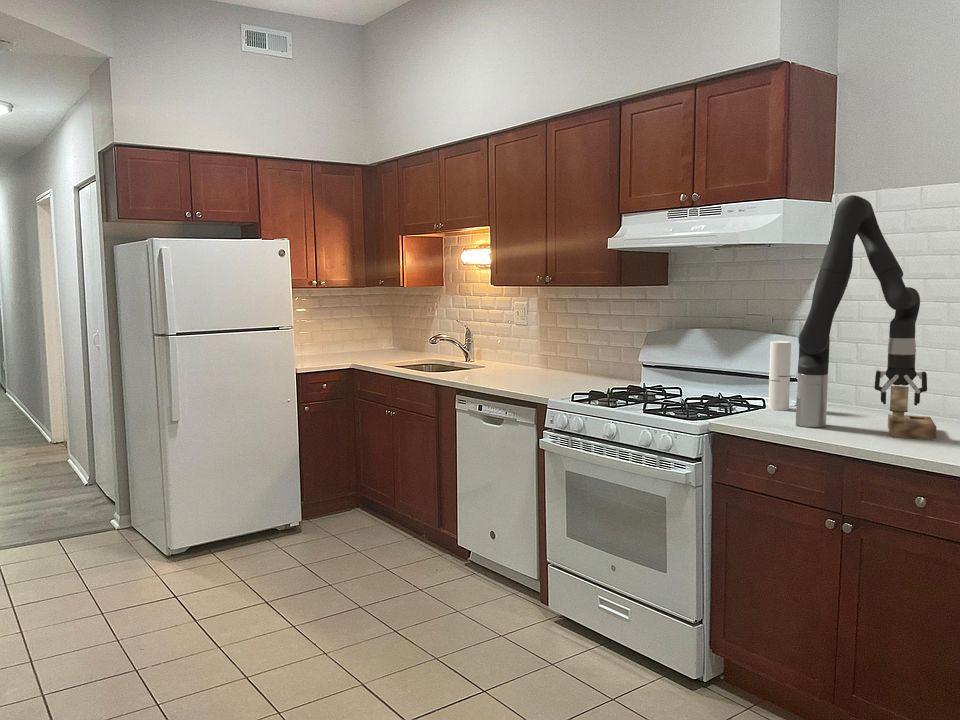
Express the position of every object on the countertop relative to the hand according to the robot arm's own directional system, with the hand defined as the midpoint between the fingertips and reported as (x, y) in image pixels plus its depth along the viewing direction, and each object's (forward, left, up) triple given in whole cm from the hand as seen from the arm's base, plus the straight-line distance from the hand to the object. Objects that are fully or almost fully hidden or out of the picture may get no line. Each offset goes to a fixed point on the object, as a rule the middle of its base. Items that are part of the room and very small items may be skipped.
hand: (899, 404), depth 243 cm
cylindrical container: (-37, +37, -10) cm, 53 cm away
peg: (0, 0, -6) cm, 6 cm away
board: (+4, +5, -10) cm, 11 cm away
